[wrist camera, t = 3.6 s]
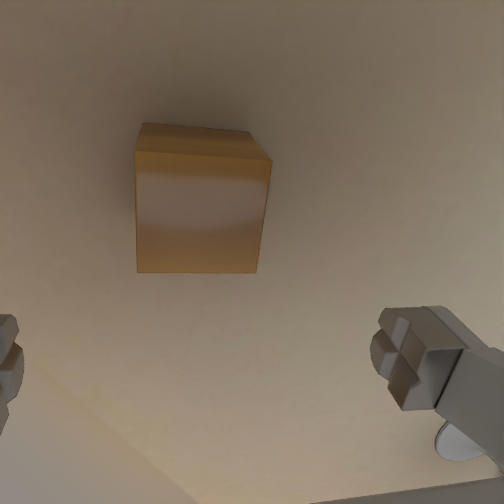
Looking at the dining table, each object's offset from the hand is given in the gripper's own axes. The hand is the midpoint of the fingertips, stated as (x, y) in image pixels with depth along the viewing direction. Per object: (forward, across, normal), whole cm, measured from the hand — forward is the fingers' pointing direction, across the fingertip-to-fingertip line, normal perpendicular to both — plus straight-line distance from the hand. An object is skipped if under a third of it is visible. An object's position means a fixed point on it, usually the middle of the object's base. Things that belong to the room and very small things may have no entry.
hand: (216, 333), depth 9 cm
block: (+10, 0, 0) cm, 10 cm away
